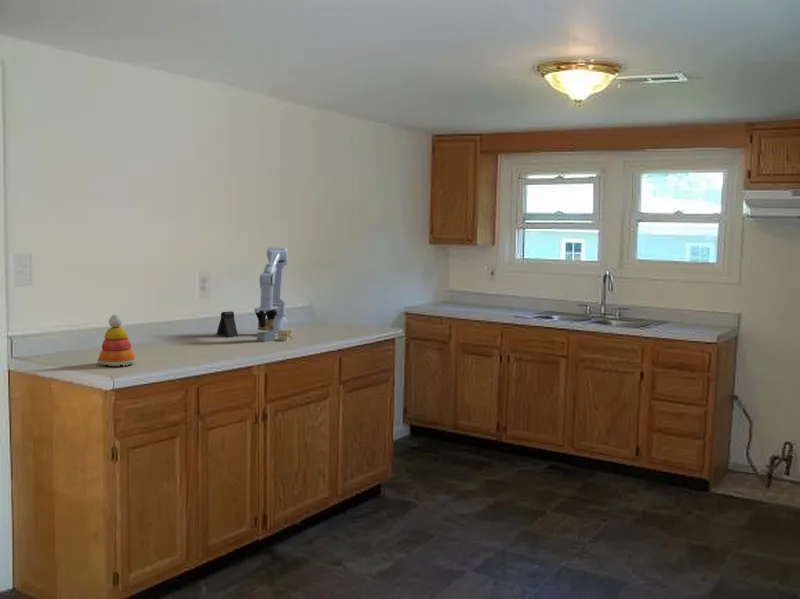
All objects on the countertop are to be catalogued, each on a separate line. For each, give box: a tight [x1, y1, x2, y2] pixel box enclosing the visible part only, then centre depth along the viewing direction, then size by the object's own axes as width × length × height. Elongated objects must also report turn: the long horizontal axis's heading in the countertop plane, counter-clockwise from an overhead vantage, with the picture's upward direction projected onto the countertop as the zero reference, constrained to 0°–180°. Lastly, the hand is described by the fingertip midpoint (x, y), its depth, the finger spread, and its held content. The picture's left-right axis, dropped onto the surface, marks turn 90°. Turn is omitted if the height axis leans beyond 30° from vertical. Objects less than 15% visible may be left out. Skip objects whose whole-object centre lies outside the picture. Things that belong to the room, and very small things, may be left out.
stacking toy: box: [97, 314, 137, 367], centre depth 309 cm, size 14×14×20 cm
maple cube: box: [277, 328, 293, 342], centre depth 390 cm, size 5×5×5 cm
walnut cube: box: [257, 318, 273, 332], centre depth 385 cm, size 5×5×5 cm
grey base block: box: [256, 331, 276, 343], centre depth 385 cm, size 6×6×4 cm
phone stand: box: [215, 310, 239, 338], centre depth 395 cm, size 9×6×12 cm, turn 55°
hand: (266, 326), depth 385 cm, fingers closed on walnut cube, 5 cm apart
